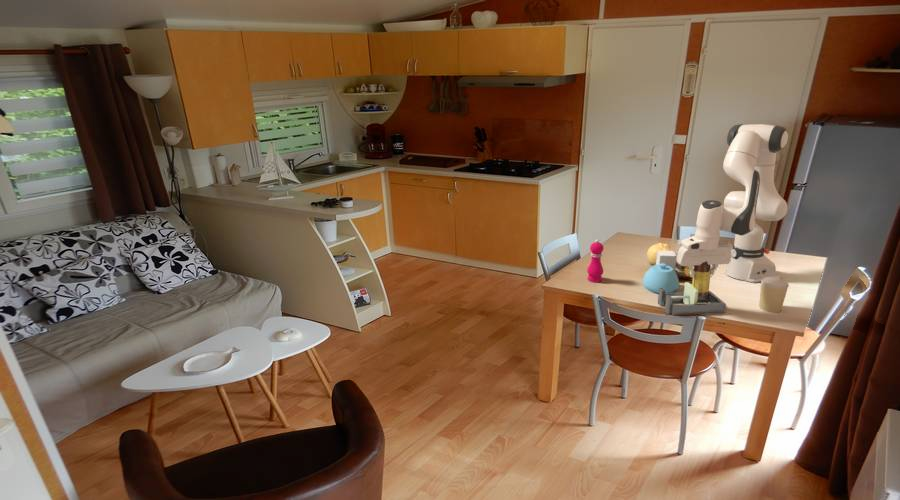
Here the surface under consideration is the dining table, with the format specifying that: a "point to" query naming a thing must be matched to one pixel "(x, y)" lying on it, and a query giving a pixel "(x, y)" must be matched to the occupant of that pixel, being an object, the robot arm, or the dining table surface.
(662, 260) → the supplement box
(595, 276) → the pepper mill
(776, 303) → the coffee cup
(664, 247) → the sculpture
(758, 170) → the robot arm
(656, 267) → the blue upside-down bowl
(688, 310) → the gray storage tray
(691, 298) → the pusher
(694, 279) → the sauce bottle
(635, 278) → the dining table surface
